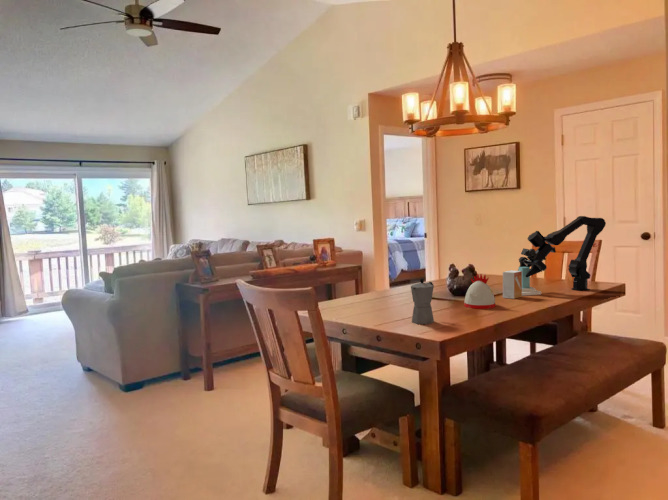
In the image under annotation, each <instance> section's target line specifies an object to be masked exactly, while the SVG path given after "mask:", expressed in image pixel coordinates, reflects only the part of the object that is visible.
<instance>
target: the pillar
mask: <svg viewBox="0 0 668 500" xmlns="http://www.w3.org/2000/svg"><path fill="white" fill-rule="evenodd" d="M530 268H531V267H520V266H518V268H517V271H522V289H526V288H530V287H531V286H530V285H531V283H530V282H531V281H530V280H531V279H530V277H531V276H529V277H526V274H527V273H528V271H529V270H530Z"/></svg>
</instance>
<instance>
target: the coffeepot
mask: <svg viewBox="0 0 668 500" xmlns="http://www.w3.org/2000/svg"><path fill="white" fill-rule="evenodd" d="M424 279H425V278H423V277H422V278H419V282H418V283H414V284H412V285H410V291H411V295H412V302H413V304H414V305H413V311H412V317H411V322H412V323H413V324H415V325H430V324H433V323H434V321H435V320H434V315H433V310H432V309H433V308H432V306H431V305H432V303H431V302H432V301H433V300H432V299H433V292H434V288H435V286H434V283H433V282H432V281H429V282H424V281H425V280H424Z"/></svg>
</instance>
